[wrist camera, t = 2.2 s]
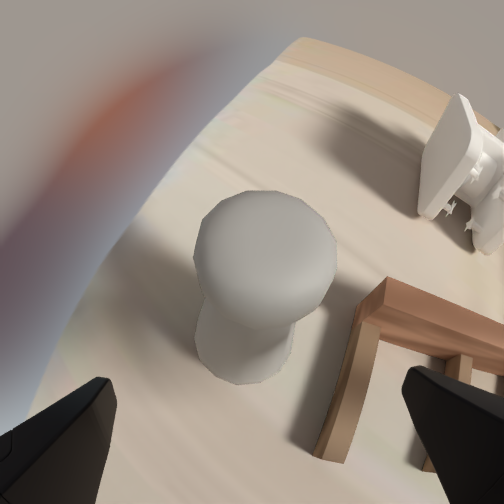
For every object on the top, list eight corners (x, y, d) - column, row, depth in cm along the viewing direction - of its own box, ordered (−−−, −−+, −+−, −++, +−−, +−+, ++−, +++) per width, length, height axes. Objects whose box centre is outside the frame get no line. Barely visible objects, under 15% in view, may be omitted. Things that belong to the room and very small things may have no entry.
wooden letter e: (498, 468, 13) (535, 465, 9) (312, 455, 15) (340, 466, 11) (514, 361, 19) (548, 345, 15) (356, 306, 21) (387, 276, 17)
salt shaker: (199, 390, 17) (154, 343, 6) (196, 308, 20) (168, 162, 9) (290, 383, 18) (394, 322, 7) (279, 303, 21) (341, 164, 10)
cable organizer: (418, 151, 34) (453, 84, 24) (476, 188, 32) (517, 130, 22) (410, 224, 26) (471, 137, 16) (482, 268, 24) (550, 204, 15)
